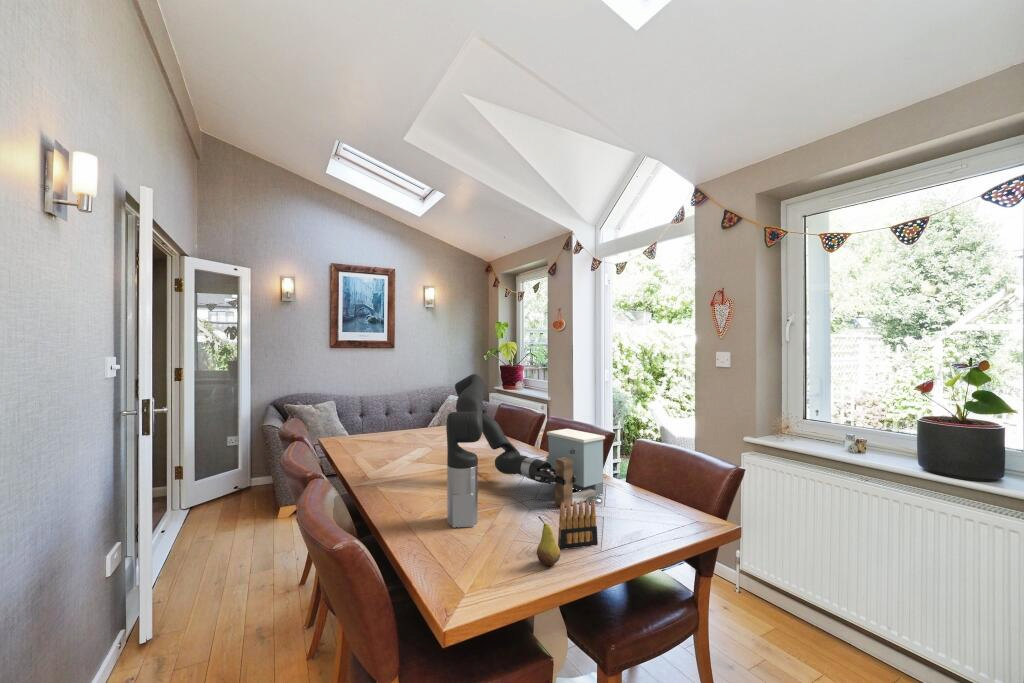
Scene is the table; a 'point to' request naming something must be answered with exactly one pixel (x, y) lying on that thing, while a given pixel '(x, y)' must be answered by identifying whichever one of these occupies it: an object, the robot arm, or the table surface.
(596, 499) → the steel puck
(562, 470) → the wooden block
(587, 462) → the cabinet
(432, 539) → the table surface
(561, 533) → the ammunition clip
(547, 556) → the fruit
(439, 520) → the table surface
